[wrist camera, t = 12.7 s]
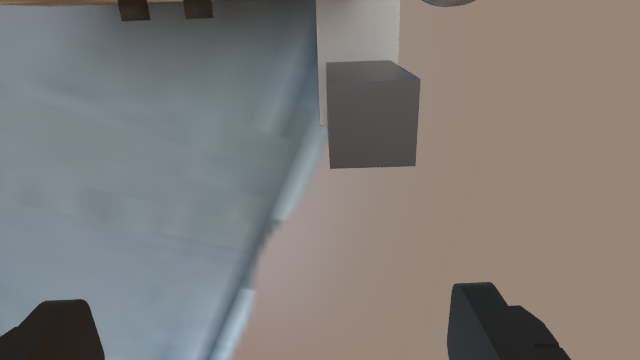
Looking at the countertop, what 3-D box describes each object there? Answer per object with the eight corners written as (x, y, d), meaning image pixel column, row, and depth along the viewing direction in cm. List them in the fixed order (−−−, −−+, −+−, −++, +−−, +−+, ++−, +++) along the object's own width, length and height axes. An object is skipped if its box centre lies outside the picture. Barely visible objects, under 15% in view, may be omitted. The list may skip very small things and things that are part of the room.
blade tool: (320, 122, 27) (319, 168, 19) (310, -139, 22) (304, -234, 14) (393, 120, 27) (426, 165, 19) (403, -143, 22) (453, -241, 14)
